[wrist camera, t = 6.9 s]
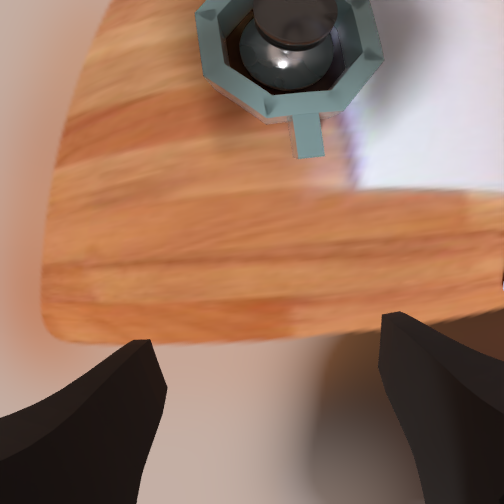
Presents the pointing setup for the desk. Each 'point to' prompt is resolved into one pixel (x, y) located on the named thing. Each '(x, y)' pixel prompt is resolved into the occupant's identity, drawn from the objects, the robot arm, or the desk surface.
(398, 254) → the desk surface
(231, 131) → the desk surface
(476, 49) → the desk surface
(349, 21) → the grey-green octagonal bowl
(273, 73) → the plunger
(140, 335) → the desk surface
